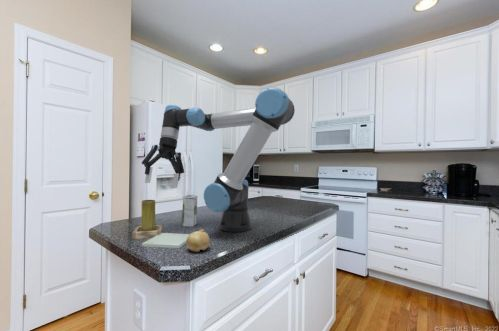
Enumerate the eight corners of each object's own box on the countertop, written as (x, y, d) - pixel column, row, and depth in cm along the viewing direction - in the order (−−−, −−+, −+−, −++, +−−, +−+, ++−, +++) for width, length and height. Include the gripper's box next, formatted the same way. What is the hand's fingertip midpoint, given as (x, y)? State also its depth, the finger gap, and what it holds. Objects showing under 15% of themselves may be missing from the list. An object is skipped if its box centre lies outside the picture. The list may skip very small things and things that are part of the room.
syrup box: (185, 223, 119) (185, 194, 119) (197, 224, 118) (197, 195, 119) (181, 226, 113) (182, 196, 113) (194, 226, 113) (194, 196, 113)
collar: (162, 230, 106) (162, 224, 106) (160, 237, 96) (160, 230, 96) (136, 232, 103) (136, 226, 103) (132, 239, 93) (132, 232, 93)
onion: (208, 254, 78) (208, 232, 78) (184, 254, 78) (184, 232, 78) (210, 246, 86) (211, 226, 86) (188, 246, 86) (188, 226, 86)
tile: (193, 236, 97) (193, 234, 97) (178, 248, 83) (178, 245, 83) (161, 235, 99) (161, 232, 99) (141, 246, 85) (141, 243, 85)
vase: (137, 236, 96) (137, 201, 97) (144, 232, 103) (145, 199, 103) (151, 236, 96) (152, 201, 96) (158, 232, 102) (158, 199, 102)
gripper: (185, 147, 119) (179, 189, 115) (138, 130, 100) (129, 180, 95) (195, 145, 115) (189, 189, 110) (148, 128, 95) (139, 180, 91)
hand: (161, 185), depth 103 cm, fingers open, 13 cm apart
